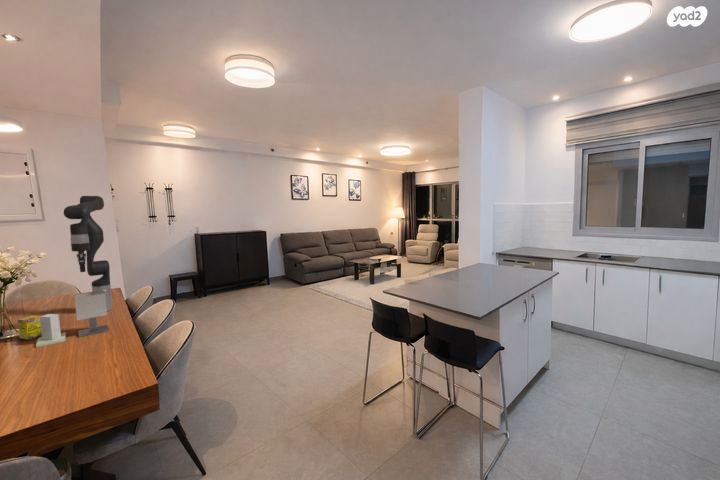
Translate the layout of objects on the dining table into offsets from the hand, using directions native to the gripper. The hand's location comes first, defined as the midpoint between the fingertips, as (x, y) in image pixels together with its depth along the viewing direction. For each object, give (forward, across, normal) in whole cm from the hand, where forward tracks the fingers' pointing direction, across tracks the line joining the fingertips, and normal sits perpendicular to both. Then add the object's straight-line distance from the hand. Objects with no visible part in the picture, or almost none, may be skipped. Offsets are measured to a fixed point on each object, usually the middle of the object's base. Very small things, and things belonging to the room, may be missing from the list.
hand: (82, 270), depth 169 cm
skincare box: (+31, +14, -14) cm, 37 cm away
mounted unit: (+32, +14, +2) cm, 35 cm away
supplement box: (+32, +2, -22) cm, 39 cm away
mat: (+32, +14, -14) cm, 38 cm away
